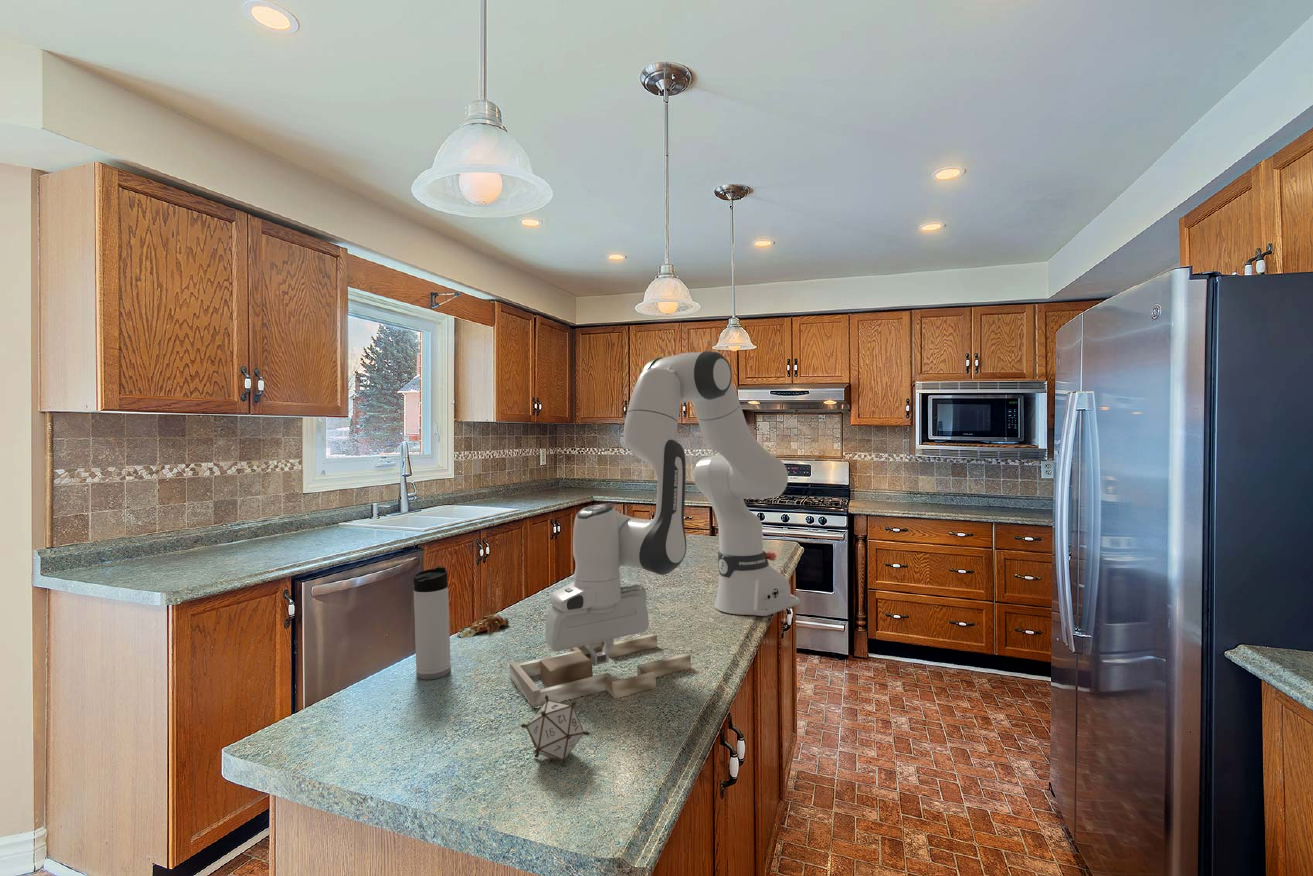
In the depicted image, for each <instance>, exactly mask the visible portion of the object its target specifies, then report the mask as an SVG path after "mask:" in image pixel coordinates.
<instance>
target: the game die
mask: <svg viewBox="0 0 1313 876" xmlns="http://www.w3.org/2000/svg"><path fill="white" fill-rule="evenodd" d="M545 700H546V702H545V703H544V705H543V706H542V707H541V708H538V709H539V710H538V711H537V712H536V713H535V714H534V716H533V717H532V718H531V719H530V720H529V722H527V724H525V723H523V724H520V727H521V728H522V729H525V728H526V730H527V732H528V735H529V737H530V739H531V742H532V743H533V746H534V748H535V749H534V752H533V753H534V758H535V757H538V758H539V757H540V756H543V757H546V758H547V757H548V758H551V759H555V760H559V761H562V765H563V764H566V763H567V761H566V758H568V756H569V754H570V753H571V752H572V751H573V750H574V748H575V747H576V745H577V744H578V743H579V741H580V740H581V738H582V737H583V736H584V735H585V736H588V735H591V733H590V732H589V731H585V730H584V728H583V726H582V723H581V722H580V719H579V717H578V714H577V711H576V709H575V706H576V704H577V700H573V701H572V703H571V704H568V703H564V702H560V703H559V702H554V701H550V700H548V696H547V695H545ZM566 765H567V764H566Z"/></svg>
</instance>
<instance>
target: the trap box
mask: <svg viewBox="0 0 1313 876" xmlns="http://www.w3.org/2000/svg"><path fill="white" fill-rule="evenodd" d="M604 644H605V643H604V642H603V641H602V642H597V643H596V648H593V649H594V651H595V653H598V652H602V649H603V647H604ZM657 647H658V636H657V634H656V633H651V634H646V635H641V636H637V637H636V636H635V637H632V638H631V637H630V638H628V639H623V640H617V641H614V645H613V647H612V649H611V651H610V653H609V659H611V658H616V657H620V656H623V655H628V654H633V653H637V652H640V651H641V652H642V651H645V649H646V650H649V649H653V648H657ZM567 651H568V652H564V653H560V654H556V655H551V656H547V657H541V658H537V659H534V660H528V661H523V662H520V663H518V662H517V661H511V662H509V680H510V681H511V680H512V681H511V682H512V683H513V682H514V683H513V684H514V686H515V685H516V686H517V687H516V686H515V687H516V688H517V690H518V689H519V690H520V691H519V690H518V691H519V692H520V694H521V695H522V694H523V695H524V696H525V697H524V696H523V695H522V696H523V697H524V698H526V699H527V700H528V701H527V700H526V699H525V700H526V701H527V702H528V703H530V704H531V705H532V706H533V708H535V707H538V706H543V705H544V703H545V702H546V700H545V695H547V696H548V700H550V701H554V702H559V701H563V700H567V701H569V700H568V699H571V700H575V699H578V698H577V697H579V698H582V697H581V696H583V697H585V696H590V695H593V694H597V693H601V692H604V691H606V692H607V693H608V694H610V696H612V698H613V699H615V700H617V699H621V698H624V697H623V696H625V697H628V696H632V695H635V694H634V693H636V694H639V693H643V692H645V691H646V692H647V691H650V690H653V689H657V678H658V677H661V676H662V677H663V676H664V675H669V674H673V673H677V672H679V671H685V670H688V669H691V668H692V661H691V660H692V659H691V658H692V657H691V656H692V655H691V654H690V653H688V652H686V653H682V654H678V655H677V654H676V655H674V656H670V657H665V658H662V659H657V660H654V661H649V662H646V663H642V664H638V665H636V667H637V669H636V670H637V673H636V674H637V675H634V676H630V677H626V678H623V679H619V680H617V679H616V678H615V677H613V676H612V675H611V674H610V673H609V672H606V673H601V674H598V675H593V677H589V678H585V679H581V680H577V681H573V682H569V683H565V684H561V685H557V686H553V687H549V688H547V687H545V688H541V689H540V688H539V686H538V685H537V684H536V683H535V682H534V681H533V680H532V678H531V677H535V676H538V675H540V660H544V659H549V658H553V657H558V656H562V655H567V654H571V653H576V652H581V653H583V654H584V655H585V656H586V657H587V658H588V659H590V660H591V654H590V653H589V651H588V650H587V648H586V647H585V645H584V646H579V647H575V648H570V649H567ZM530 676H531V677H530ZM649 689H650V690H649ZM642 691H643V692H642ZM631 694H632V695H631ZM620 697H621V698H620ZM574 698H575V699H574ZM616 698H617V699H616ZM530 704H529V705H530ZM531 705H530V706H531ZM532 706H531V707H532ZM533 708H532V709H533Z"/></svg>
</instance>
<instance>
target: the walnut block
mask: <svg viewBox="0 0 1313 876" xmlns="http://www.w3.org/2000/svg"><path fill="white" fill-rule="evenodd" d="M539 675H540V682H541V683H542V682H543V683H544V684H545V685H544V684H543V683H542V684H543V685H544V686H545V687H546V686H547V687H546V688H549V687H553V686H557V685H561V684H565V683H569V682H573V681H577V680H581V679H585V678H589V677H593V676H594V675H593V664H592V661H591V660H590V659H588V658H587V657H586V656H585V655H584V654H583V653H581V652H576V653H571V654H567V655H562V656H558V657H553V658H549V659H544V660H540V674H539Z"/></svg>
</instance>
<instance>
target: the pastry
mask: <svg viewBox="0 0 1313 876" xmlns="http://www.w3.org/2000/svg"><path fill="white" fill-rule="evenodd" d="M479 623H482V624H479ZM509 624H510V621H509V619H508V617H504V618H503V617H502V616H501V615H500V614H499V613H497V612H495V613H494V614H490V615H484V616H482V618H481V619H480V620H478V621H474V622H473V623H470V625H469V626H468V627H467V628H465V627H464V628H462V629H461V628H460V629H459V632H458V633H457V635H456V637H460V638H461V639H467V638H472V637H473V636H474V635H475V634H476V633H481V632H484V631H486V633H487V634H488V635H490V634H492V633H495V632H498V631H500V627H501V626H502V625H504V626H505V627H507V626H509ZM475 625H477V626H475ZM468 628H469V629H468ZM463 631H465V632H463ZM461 632H462V633H461ZM459 633H461V634H459ZM458 634H459V635H458Z"/></svg>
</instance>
